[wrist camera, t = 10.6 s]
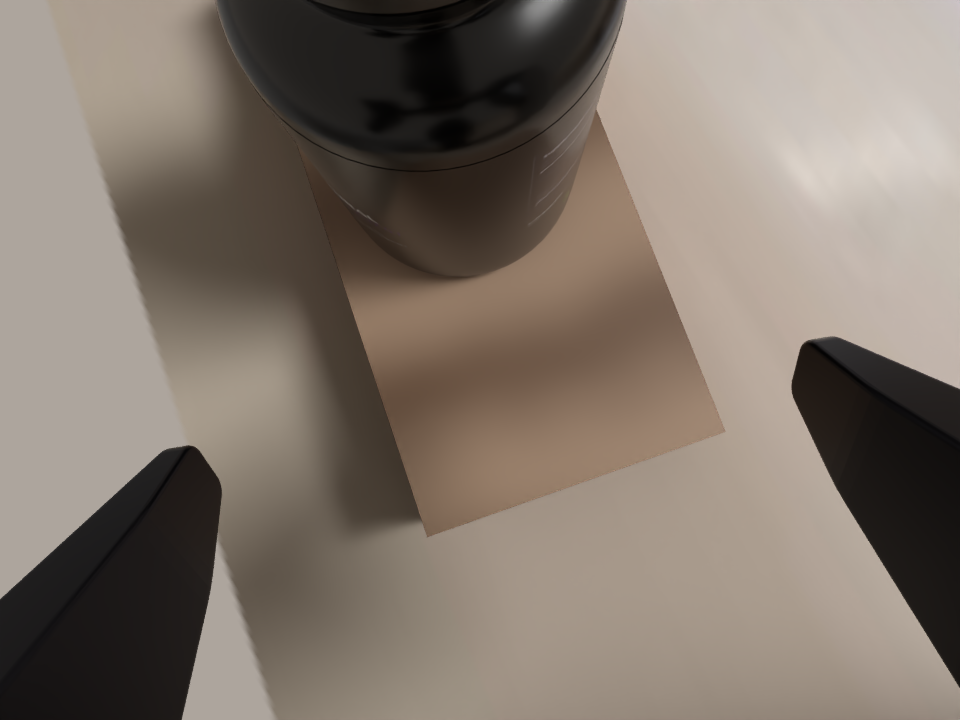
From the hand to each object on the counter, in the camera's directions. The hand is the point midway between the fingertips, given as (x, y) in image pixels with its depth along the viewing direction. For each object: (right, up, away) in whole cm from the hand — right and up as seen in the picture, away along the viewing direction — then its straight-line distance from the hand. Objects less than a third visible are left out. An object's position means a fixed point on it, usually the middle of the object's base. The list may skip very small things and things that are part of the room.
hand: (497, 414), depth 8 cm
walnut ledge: (-1, +6, +12) cm, 14 cm away
